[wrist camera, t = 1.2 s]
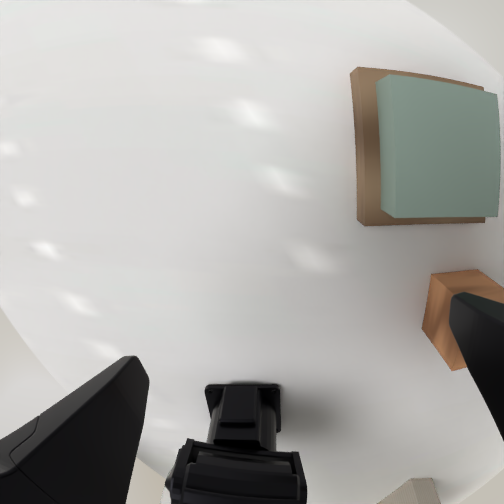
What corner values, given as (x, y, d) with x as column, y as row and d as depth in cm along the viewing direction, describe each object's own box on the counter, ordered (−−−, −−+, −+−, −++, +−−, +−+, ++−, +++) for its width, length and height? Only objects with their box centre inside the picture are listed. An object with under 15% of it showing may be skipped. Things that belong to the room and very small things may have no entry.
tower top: (477, 208, 18) (497, 216, 15) (380, 208, 18) (394, 218, 16) (476, 97, 15) (496, 94, 13) (375, 82, 16) (389, 74, 13)
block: (466, 320, 23) (500, 357, 17) (421, 328, 23) (451, 371, 17) (477, 269, 21) (518, 299, 15) (430, 273, 22) (469, 309, 16)
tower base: (467, 215, 20) (484, 222, 18) (354, 217, 21) (364, 226, 19) (465, 90, 17) (483, 87, 15) (347, 75, 18) (357, 66, 16)
